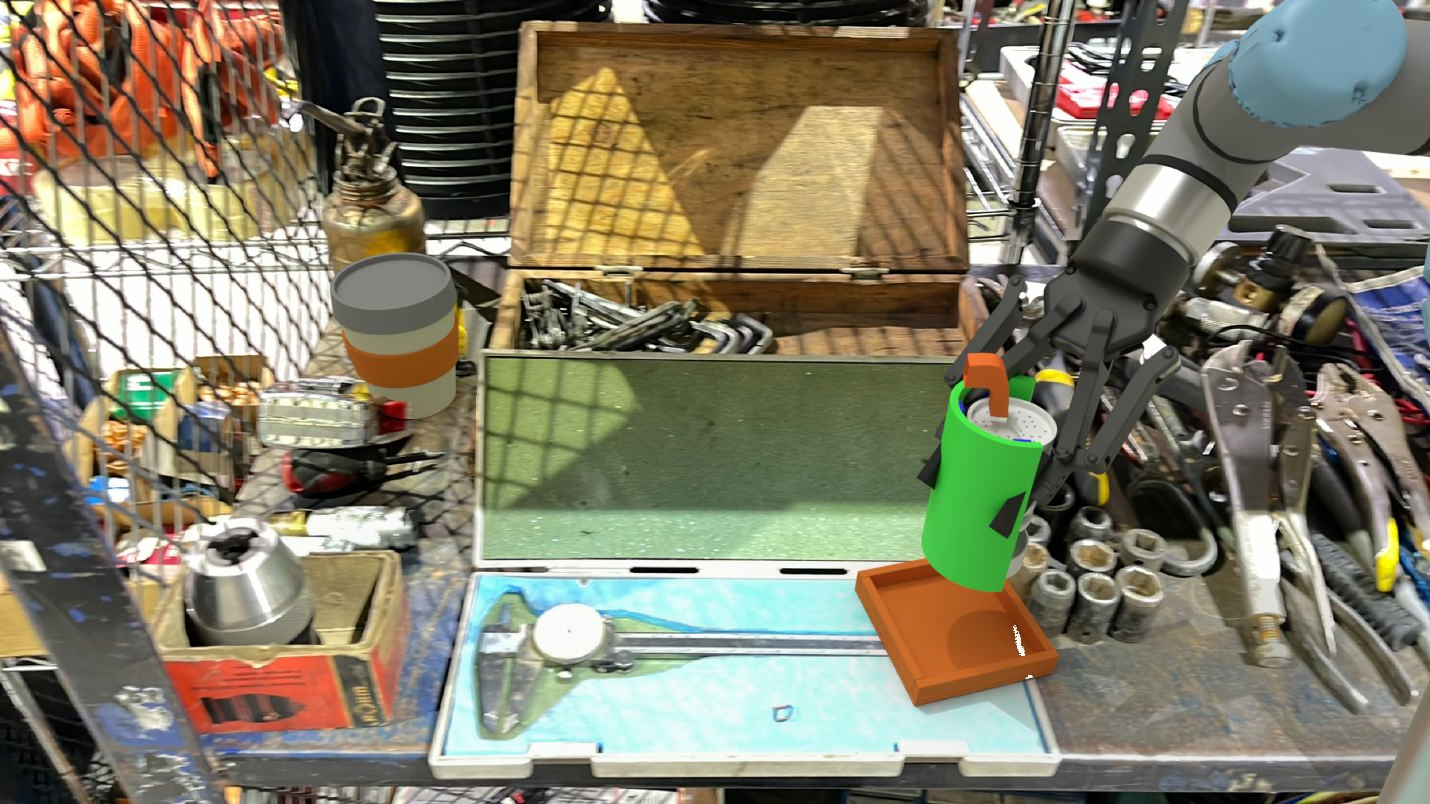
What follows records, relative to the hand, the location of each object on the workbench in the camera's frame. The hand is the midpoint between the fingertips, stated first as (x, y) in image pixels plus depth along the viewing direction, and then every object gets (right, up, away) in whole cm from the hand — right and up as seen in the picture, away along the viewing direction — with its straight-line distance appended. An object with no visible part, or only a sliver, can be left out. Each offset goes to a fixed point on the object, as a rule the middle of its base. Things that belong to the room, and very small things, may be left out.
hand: (961, 507), depth 67 cm
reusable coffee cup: (-52, +8, +36) cm, 64 cm away
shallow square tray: (+2, -12, +12) cm, 17 cm away
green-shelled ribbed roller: (+3, -4, +6) cm, 8 cm away
